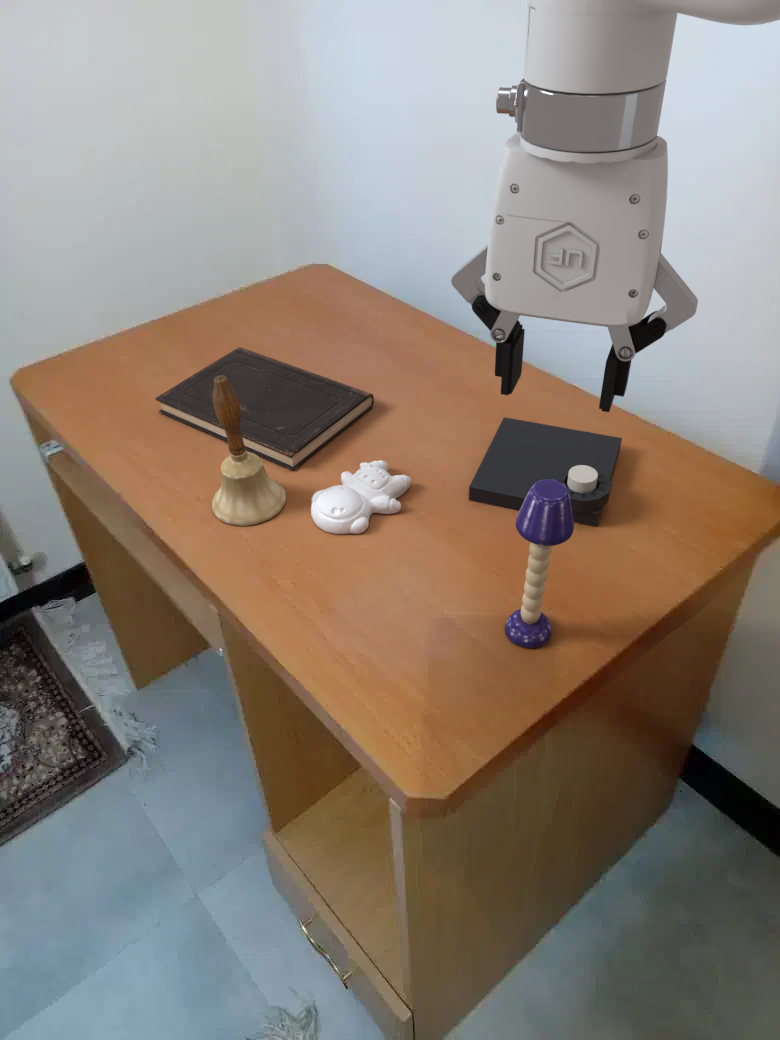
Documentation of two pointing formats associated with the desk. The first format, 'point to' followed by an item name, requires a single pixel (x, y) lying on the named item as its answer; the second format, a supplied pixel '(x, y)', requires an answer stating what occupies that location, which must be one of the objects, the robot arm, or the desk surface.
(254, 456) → the hand bell
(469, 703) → the desk surface
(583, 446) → the scale
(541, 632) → the toy lamp
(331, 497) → the white flat figure
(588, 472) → the button
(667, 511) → the desk surface
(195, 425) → the hardcover book
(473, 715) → the desk surface
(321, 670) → the desk surface
